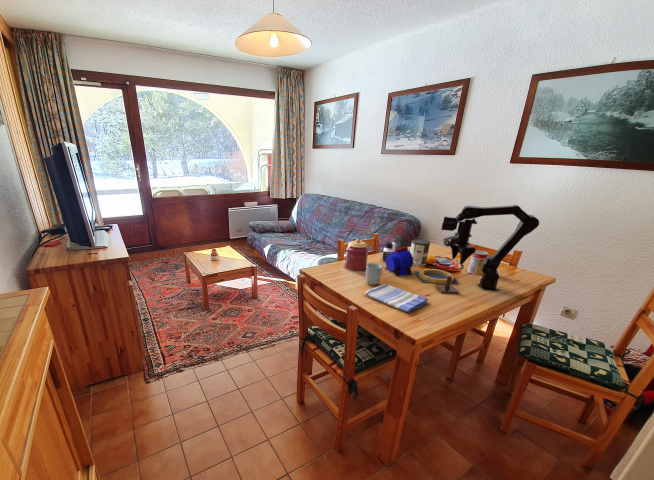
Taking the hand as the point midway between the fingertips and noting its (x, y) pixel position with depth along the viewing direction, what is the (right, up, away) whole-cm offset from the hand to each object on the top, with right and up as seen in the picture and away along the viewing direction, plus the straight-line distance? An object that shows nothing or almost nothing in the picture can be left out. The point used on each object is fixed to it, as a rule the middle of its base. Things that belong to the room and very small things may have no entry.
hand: (457, 261), depth 160 cm
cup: (-44, -12, +3) cm, 45 cm away
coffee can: (-6, +1, +33) cm, 33 cm away
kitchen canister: (-47, -2, +26) cm, 53 cm away
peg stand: (-8, -15, -5) cm, 18 cm away
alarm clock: (-24, -5, +19) cm, 31 cm away
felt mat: (-6, -8, +10) cm, 15 cm away
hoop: (-6, -8, +10) cm, 14 cm away
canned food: (+21, -5, +19) cm, 29 cm away
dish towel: (-38, -19, -15) cm, 45 cm away
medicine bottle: (-23, +3, +37) cm, 44 cm away
